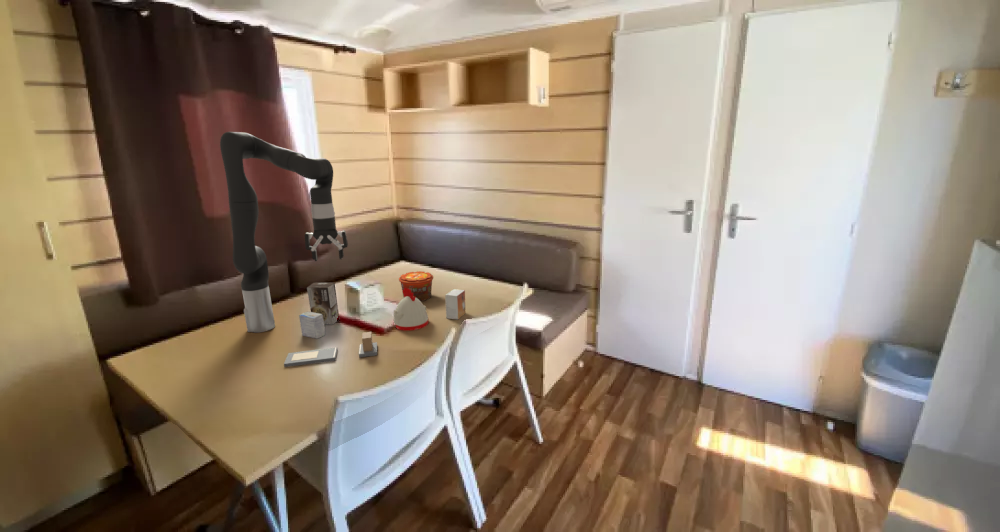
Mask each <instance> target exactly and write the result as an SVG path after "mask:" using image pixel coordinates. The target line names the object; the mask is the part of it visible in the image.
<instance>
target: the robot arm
mask: <svg viewBox="0 0 1000 532" xmlns="http://www.w3.org/2000/svg"><path fill="white" fill-rule="evenodd" d="M219 140H220V141H219V148H220V154H221V158H222V162H223V167H224V171H225V179H226V186H227V194H228V196H227V197H228V206H229V207H228V208H229V213H230V214H229V215H230V223H231V231H232V262H233V263H232V264H233V265H234V267H235V269H236V271H238V272H239V273H241V274H242V275H243V276H242V280H241V281H240V287H241V293H242V296H243V297H242V298H243V303H244V308H243V313H244V318H245V319H244V320H245V324H246V330H247V332H248V333H263V332H264V333H265V332H268V331H270V330H272V329H274V328H275V327H276V323H275V318H274V317H275V316H274V311H273V305H272V298H271V293H270V292H271V291H270V287H269V278H270V277H269V276H270V275H269V274H270V273H269V265H268V259H267V255H266V253H265V251H264V250H263V249H262V248H261V247H260V246H257V245H256V242H255V235H256V228H257V225H258V220H259V213H260V212H259V201H258V200H259V199H258V195H257V193H256V190H255V189H254V187H253V186H252V184H251V182H250V181H249V180H248V177H247V175H246V173H245V167H244V159H245V160H247V159H258V160H264V161H267V162H270V163H271V164H272V165H274V166H276V167H278V168H280V169H283V170H286V171H290V172H293V173H296V174H297V175H299V176H301V177H303V178H305V179H308V180H313V181H314V180H315V184H314V186H312V187H310V190H309V196H310V198H309V199H310V203H311V204H310V205H311V206H310V207H311V208H310V209H311V212H310V213H311V219H312V226H313V232H305V233H304V246H305V250H306V251H307V250H309V251H311V255H312V257H311V258H312V260H314V262H317V261H318V260H319V259H318V251H317V247H318V246H319V245H320V244H321V245H326V244H327V245H331V244H333V245H335V246H336V247H337V249H338V257H339V260H342V259H343V258H344V257H345V256H344V255H345V254H344V249H346V248H348V246H349V243H348V237H347V231H346V230H344V229H343V230H342V231H338V230H337V224H336V215H335V214H336V213H335V208H334V204H333V195H332V188H333V183H334V182H333V181H334V168H333V165H332V162H331V161H330V160H328V159H327V158H324V157H317V158H316V157H315V158H310V157H306V155H305V154H303V153H301V152H297V151H295V150H292V149H288V148H285V147H281V146H278V145H275V144H272V143H270V142H267V141H265V140H263V139H261V138H258V137H257V136H254V135H253V134H250V133H248V132H244V131H243V132H242V131H241V132H240V131H226V132H224V133H223V134H222V135H221V137H220V139H219ZM338 236H339V237H340V238H342V242H343V244H342V243H341V242H340V241H339V240H338V239H337V237H338ZM312 237H313V238H314V239H315V240H316V241H315V243H314V244H313V246H312V245H311V239H312Z"/></svg>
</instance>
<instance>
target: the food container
mask: <svg viewBox="0 0 1000 532" xmlns="http://www.w3.org/2000/svg"><path fill="white" fill-rule="evenodd" d="M433 279H434V275H433V274H431V272H428V271H427V272H425V271H418V270H417V271H409V272H406V273H405V274H404V273H403V274H401V275H400V277H399V278H398V281H399V282H400V286H401V290H404V288H406V289H408V288H409V289H411V293H413V296H414V297H415V296H416V298H417V299H419V300H420V301H421V302H424V301H427V300H429V299H430V298H432V287H433ZM402 296H403V298H404V295H403V294H402Z"/></svg>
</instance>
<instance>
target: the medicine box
mask: <svg viewBox="0 0 1000 532" xmlns="http://www.w3.org/2000/svg"><path fill="white" fill-rule="evenodd" d="M298 316H299V318H298V319H299V323H300V328H301V336H303V337H308V338H313V339H316V340H318V339H320V338H321V337H323V336H325V335H326V328H325V324H324V321H323V315H322V314H319V313H314V312H311V311H306V312H303V313H301V314H300V315H298Z"/></svg>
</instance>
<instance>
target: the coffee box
mask: <svg viewBox="0 0 1000 532" xmlns="http://www.w3.org/2000/svg"><path fill="white" fill-rule="evenodd" d="M336 289H337V288H336V282H313V283H310V285H308V286H307V287H306V290H307V296H308V297H307V298H308V303H309V310H310V312H314V313H319V314H322V315H323V321H324V325H334V324H335V323H336V322H338V321H337V318H338V316H339V317H340V314H339V313H340V312H339V305H338V299H337V292H336V291H337V290H336Z"/></svg>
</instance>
